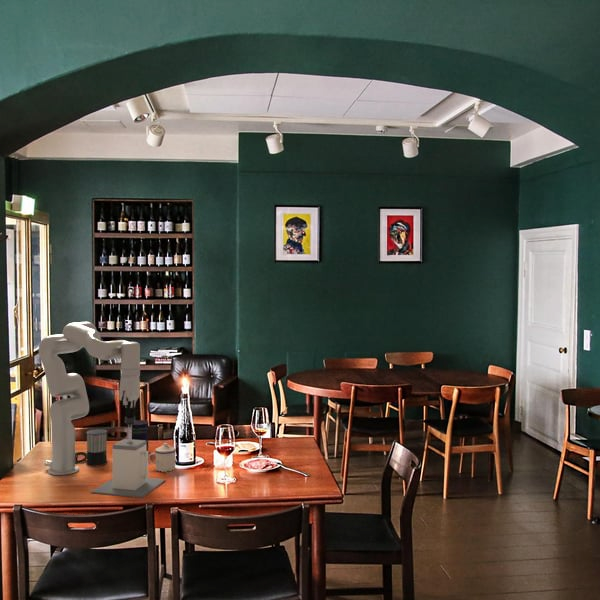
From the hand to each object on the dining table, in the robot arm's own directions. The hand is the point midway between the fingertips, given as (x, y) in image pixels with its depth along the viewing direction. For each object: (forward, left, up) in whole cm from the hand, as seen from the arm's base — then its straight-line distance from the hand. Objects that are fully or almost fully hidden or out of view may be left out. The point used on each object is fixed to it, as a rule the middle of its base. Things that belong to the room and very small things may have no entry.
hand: (130, 417), depth 267 cm
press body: (+1, 0, -28) cm, 28 cm away
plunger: (0, 0, -18) cm, 18 cm away
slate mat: (0, 0, -29) cm, 29 cm away
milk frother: (-33, +27, -29) cm, 52 cm away
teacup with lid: (+3, +26, -29) cm, 39 cm away
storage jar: (-19, +48, -29) cm, 59 cm away
